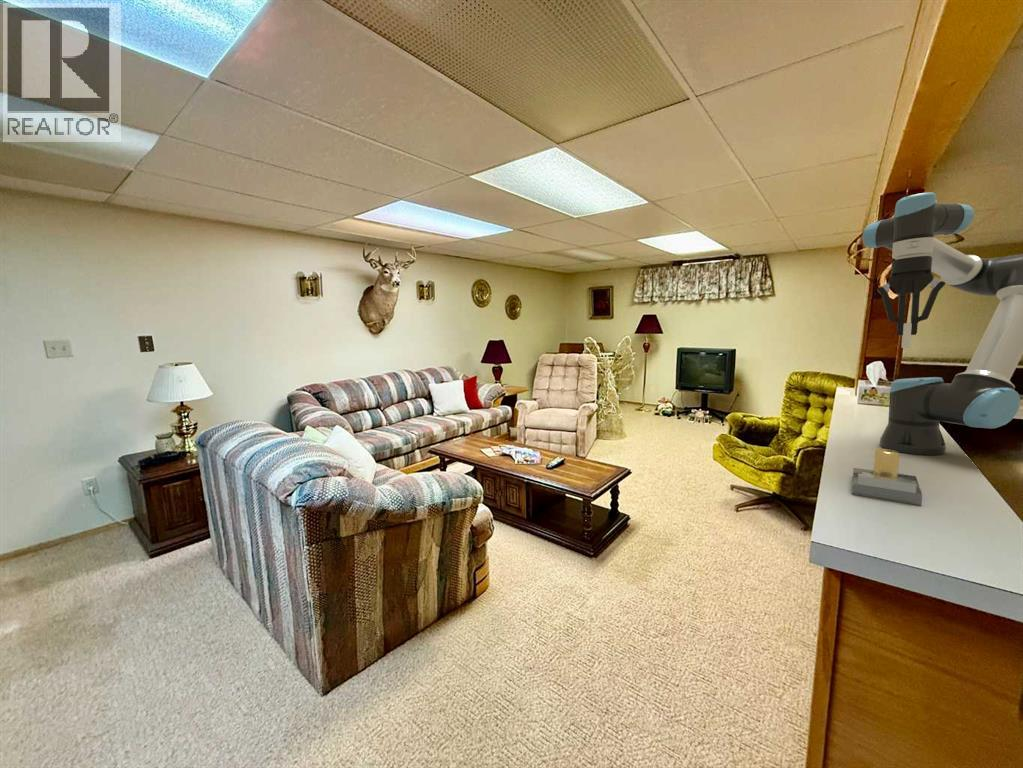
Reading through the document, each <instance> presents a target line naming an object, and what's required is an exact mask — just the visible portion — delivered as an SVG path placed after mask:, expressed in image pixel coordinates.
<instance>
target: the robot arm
mask: <svg viewBox="0 0 1023 768" xmlns="http://www.w3.org/2000/svg"><path fill="white" fill-rule="evenodd" d="M937 202H938V200H937V195H936V193H935V192H928V191H927V192H922V193H916V194H911V195H907V196H904V197H902V198H900V199H899V200H897V201H896V203H895V209H894V214H893V217H891V218H886V219H881V220H878V221H874V222H872V223H870V224H868V225H866V227H865V228H864V229H863V231H862V232H863V233H862V236H861V239H862V244H863V245H864V246H865V247H866V248H868V249H876V248H877V249H878V248H879V249H880V248H881V247H883V248H886V249H888V250H890V251H892V252H891V253H892V254H891V257H892V259H894V260H892V261H891V267H890V268H891V270H890V278H889V279H888V280H887V283H885V284H884V285H882V286H878V288H877V292H878V293H879V294H880V295H881V297H882V300H883V301H882V302H883V303H884V308H885V312H886V315H887V316H886V317H887V318H888V321H889V322H892V323H896V324H897V325H896V335H897V336H901V349H908V348H909V349H910V348H911V338H912V337H911V336H916V335H917V333H918V325H919V322H922V321H924V320H928V318H929V316H930V314H931V311H932V309H933V306H934V304H935V301H936V300H937V299H936V298H937V297H938V294H939V292H940V291H941V289H942V288H944V286H945V285H947V286H950V287H952V288H954V289H956V290H960V291H962V292H965V293H970V294H973V295H978V296H984V297H985V296H986V297H997V298H998V300H999V303H998V305H997V308H996V309H995V311H994V313H993V315H992V317H991V319H990V321H989V324H988V326H987V327H986V329H985V331H984V333H983V335H982V337H981V339H980V342H979V343H978V345H977V347H976V350H975V351H974V354H973V355H972V357H971V360H970V361H969V363H968V365H967V367H966V370H965V371H963V372H959V373H957V374H955V376H954V378H953V380H952V381H951V383H947V382H944V379H943V377H938V376H932V377H931V376H929V377H910V378H899V379H894V380H893V381H892V382H891V383H890V390H889V393H888V394H889V403H888V404H889V406H888V419H887V420H888V421H887V425H886V427H885V428H884V430H883V433H882V435H881V436H880V438H879V446H880V447H881V448H882V449H890V450H894V451H898V452H899V453H904V454H911V455H920V456H921V455H922V456H923V455H924V456H939V455H943V454H946V452H947V445H946V442H945V439H944V436H943V434H942V432H941V428H940V422H944V423H948V424H954V425H956V424H957V425H961V426H968V427H970V428H981V429H982V428H983V429H997V428H1000V427H1002V426H1006V425H1007V424H1008V423H1010V422H1011V421H1012V420H1013V419H1014V418H1015V416H1016V415H1017V413H1018V412H1019V409H1020V407H1021V405H1020V404H1019V403H1020V402H1021V396H1020V394H1019V393H1018V391H1016V390H1015V388H1016V386H1015V384H1014V383H1012V381H1011V378H1012V377H1013V375H1014V373H1015V371H1016V368H1017V366H1018V364H1019V362H1020V361H1021V358H1022V356H1023V253H1021V254H1014V255H1013V254H1012V255H1007V256H1006V255H1005V256H999V257H989V258H987V257H986V258H983V257H979V256H977V255H975V254H965V253H964V252H961V251H959V250H958V249H956V248H955V247H952V246H950V245H949V244H947V243H945V242H943V241H941V240H939V239H938V238H935V237H934V236H941V235H944V236H948V235H954V234H959V233H961V232H963V231H965V230H966V229H967V228H968V227H970V226H971V224H972V223H973V221H974V219H975V211H974V208H972V207H971V205H968V204H963V203H962V204H961V203H959V202H958V203H957V202H954V203H937ZM933 274H936V275H938V276H939V277H940V280H938V279H935V276H934V275H933ZM929 284H931V285H930V288H931V290H930V293H929V295H928V298H927V300H926V303H925V305H924V308H923V311H921V312H922V313H921V315H920V316H919V312H920V299H921V298H920V296H921V292H923V290H924V289H925V288H926V287H927V286H928V285H929ZM890 287H891V288H892V289H893V290H894V292H895V293H897V294H898V305H897V317H895V313H894V309H893V306H892V302H891V299H890V296H889V293H888V292H890V291H891V290H890ZM907 294H911V311H910V322H907V323H906V322H905V318H906V317H905V316H906V303H907V302H906V300H907Z"/></svg>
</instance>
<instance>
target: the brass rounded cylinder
mask: <svg viewBox="0 0 1023 768" xmlns="http://www.w3.org/2000/svg"><path fill="white" fill-rule="evenodd" d="M900 454H901V452H898V451H894V450H890V449H886V448H876V449H874V461H873V470H874V472H873V476H880V477H887V478H894V479H897V478H898V474H899V465H900V464H899V463H900Z"/></svg>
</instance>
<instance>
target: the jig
mask: <svg viewBox="0 0 1023 768" xmlns="http://www.w3.org/2000/svg"><path fill="white" fill-rule="evenodd" d="M852 470H853V471H852V486H851V487H852V491H851V494H852V495H854V496H859V497H860V496H861V497H862V496H863V497H866V496H867V497H868V498H872V497H873V499H881V500H886V501H892V502H897V503H904V504H907V505H909V504H910V505H916V506H922V502H923V494H922V491H921V488H920V484H919V480H918V479H917V476H916V475H909V474H904V473H898V478H897V479H894V478H887V477H880V476H873V472H874V469H873V470H872V469H865V468H859V467H853V468H852ZM867 497H866V498H867Z"/></svg>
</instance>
